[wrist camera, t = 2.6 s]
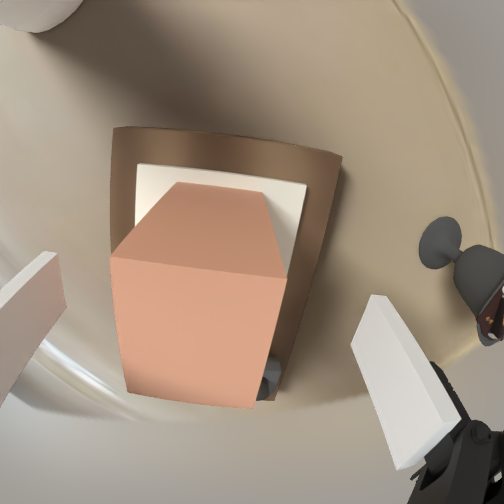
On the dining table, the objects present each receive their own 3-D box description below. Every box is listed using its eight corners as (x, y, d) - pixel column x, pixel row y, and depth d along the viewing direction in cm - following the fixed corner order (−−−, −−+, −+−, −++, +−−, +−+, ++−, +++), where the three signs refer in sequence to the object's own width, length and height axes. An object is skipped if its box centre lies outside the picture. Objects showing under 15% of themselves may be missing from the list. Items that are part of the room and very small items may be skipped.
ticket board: (133, 365, 27) (118, 409, 22) (127, 126, 18) (89, 131, 13) (272, 381, 28) (277, 428, 23) (330, 152, 19) (362, 165, 14)
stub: (137, 274, 20) (77, 390, 10) (140, 163, 17) (38, 221, 7) (281, 292, 21) (308, 420, 11) (305, 183, 18) (376, 263, 8)
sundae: (477, 233, 22) (587, 323, 9) (435, 287, 25) (526, 400, 11) (443, 190, 21) (586, 277, 7) (396, 252, 23) (509, 383, 9)
